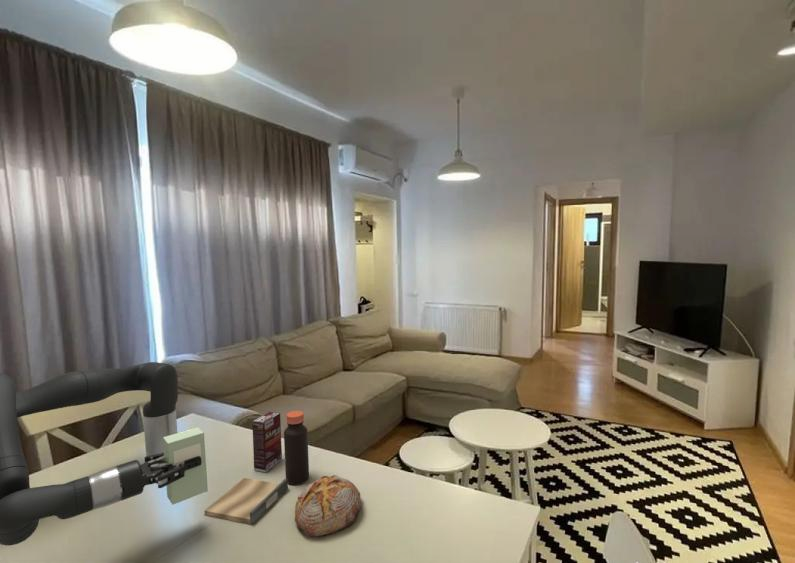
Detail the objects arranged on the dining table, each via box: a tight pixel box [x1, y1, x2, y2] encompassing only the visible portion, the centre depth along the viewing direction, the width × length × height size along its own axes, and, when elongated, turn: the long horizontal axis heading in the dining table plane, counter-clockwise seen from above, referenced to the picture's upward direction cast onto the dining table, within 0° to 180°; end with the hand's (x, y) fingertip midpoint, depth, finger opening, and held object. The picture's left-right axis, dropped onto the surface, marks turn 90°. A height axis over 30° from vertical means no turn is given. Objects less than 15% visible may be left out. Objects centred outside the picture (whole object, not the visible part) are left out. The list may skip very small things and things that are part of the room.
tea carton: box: [163, 426, 209, 506], centre depth 102 cm, size 4×8×15 cm, turn 133°
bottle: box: [283, 410, 310, 486], centre depth 124 cm, size 7×7×20 cm
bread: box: [294, 474, 362, 537], centre depth 107 cm, size 16×20×10 cm
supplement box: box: [252, 411, 283, 473], centre depth 132 cm, size 9×5×16 cm, turn 160°
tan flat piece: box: [204, 477, 289, 525], centre depth 114 cm, size 15×16×3 cm
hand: (197, 456), depth 104 cm, fingers closed on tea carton, 4 cm apart
